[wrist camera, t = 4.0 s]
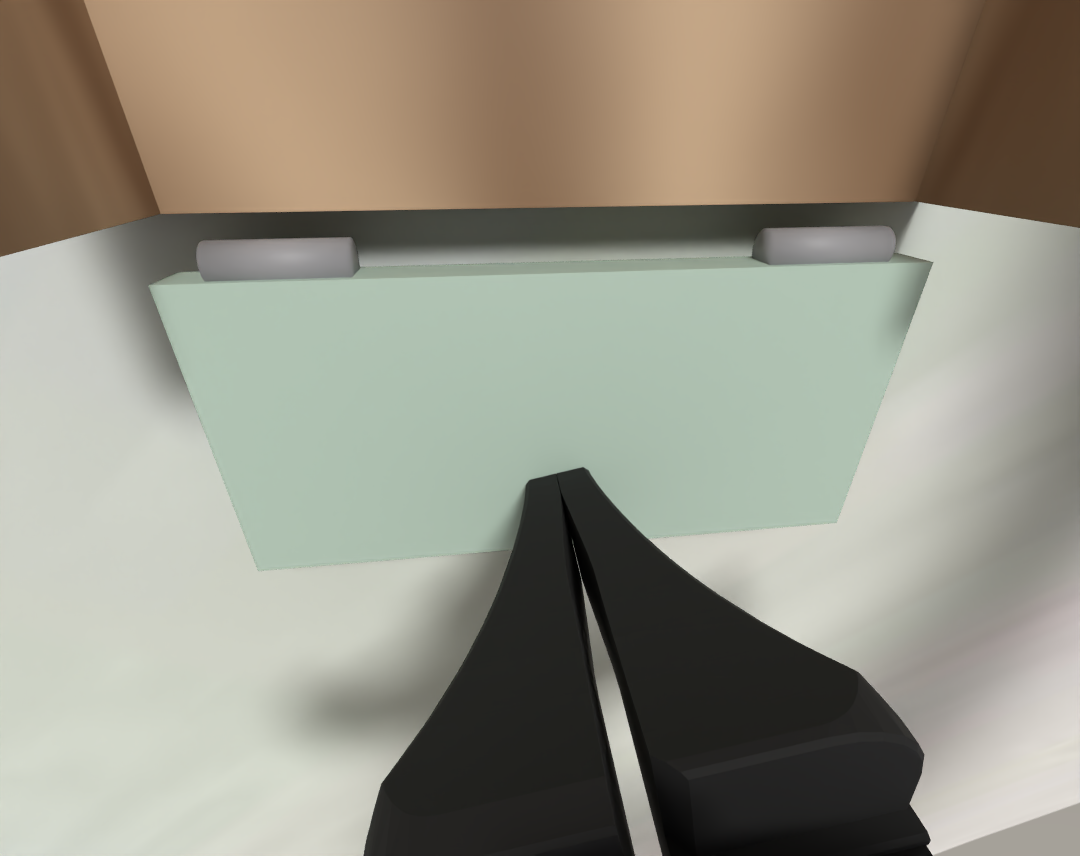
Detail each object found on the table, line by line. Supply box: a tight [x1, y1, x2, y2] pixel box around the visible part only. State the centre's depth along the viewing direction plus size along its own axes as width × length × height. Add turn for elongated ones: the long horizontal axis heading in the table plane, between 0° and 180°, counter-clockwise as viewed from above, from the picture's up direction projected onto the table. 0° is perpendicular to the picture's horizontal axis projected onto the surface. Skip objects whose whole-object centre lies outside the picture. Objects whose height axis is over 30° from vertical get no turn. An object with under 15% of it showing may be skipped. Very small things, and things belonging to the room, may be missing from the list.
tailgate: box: [148, 226, 933, 571], centre depth 11 cm, size 14×1×7 cm
